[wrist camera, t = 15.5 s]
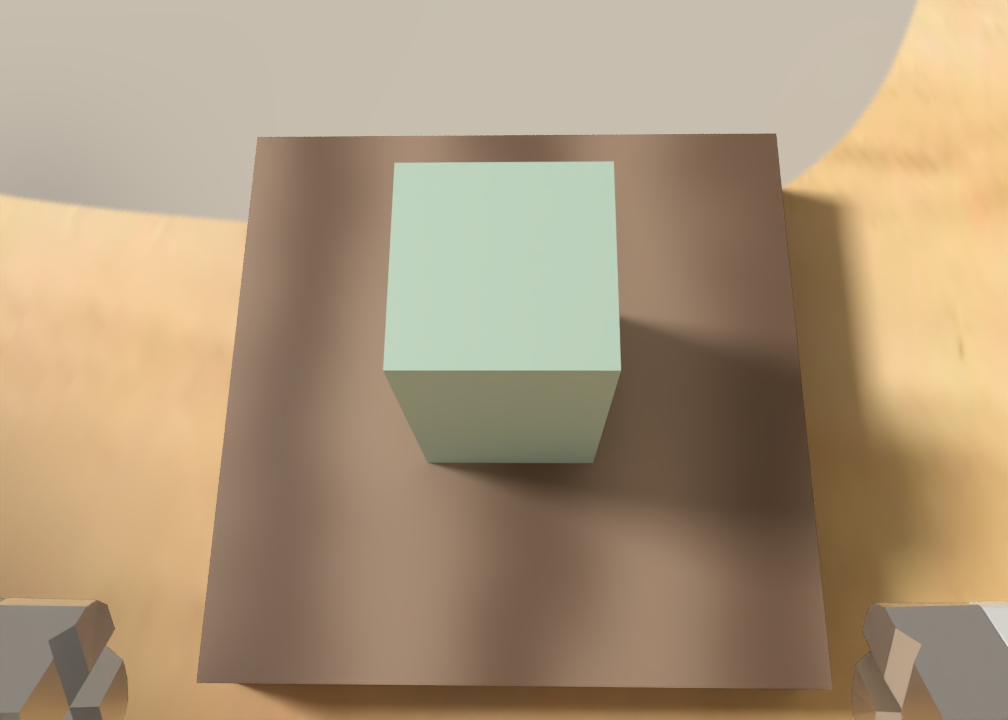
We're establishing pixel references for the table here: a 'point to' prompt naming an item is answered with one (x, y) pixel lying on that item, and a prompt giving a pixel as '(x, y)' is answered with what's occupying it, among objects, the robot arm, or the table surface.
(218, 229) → the table surface
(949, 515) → the table surface
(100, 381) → the table surface
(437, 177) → the sage block
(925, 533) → the table surface
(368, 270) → the walnut platform
